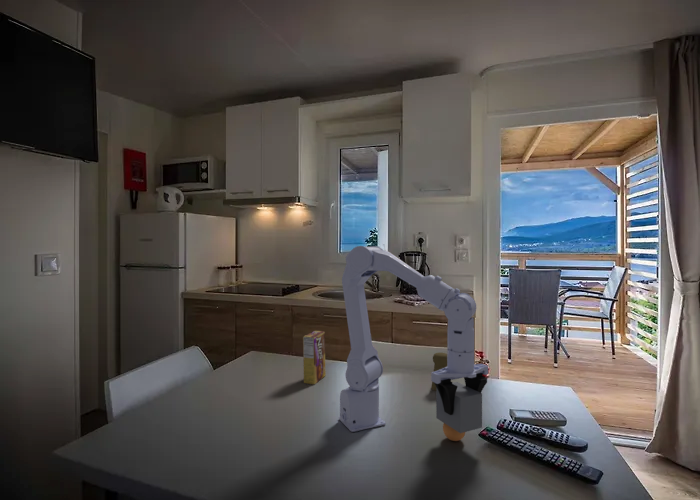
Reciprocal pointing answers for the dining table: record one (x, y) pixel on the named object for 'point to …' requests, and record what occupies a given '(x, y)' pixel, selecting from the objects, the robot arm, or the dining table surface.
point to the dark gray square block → (462, 409)
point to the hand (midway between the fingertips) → (460, 410)
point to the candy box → (314, 357)
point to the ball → (452, 433)
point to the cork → (439, 364)
